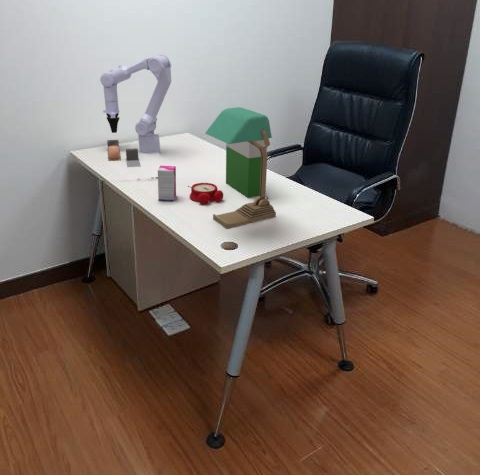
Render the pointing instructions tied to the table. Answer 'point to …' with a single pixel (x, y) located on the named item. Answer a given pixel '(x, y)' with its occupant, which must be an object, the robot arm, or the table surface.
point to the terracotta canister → (114, 152)
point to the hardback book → (244, 167)
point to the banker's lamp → (256, 128)
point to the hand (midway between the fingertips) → (114, 130)
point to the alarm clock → (205, 193)
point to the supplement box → (166, 183)
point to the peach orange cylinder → (113, 143)
